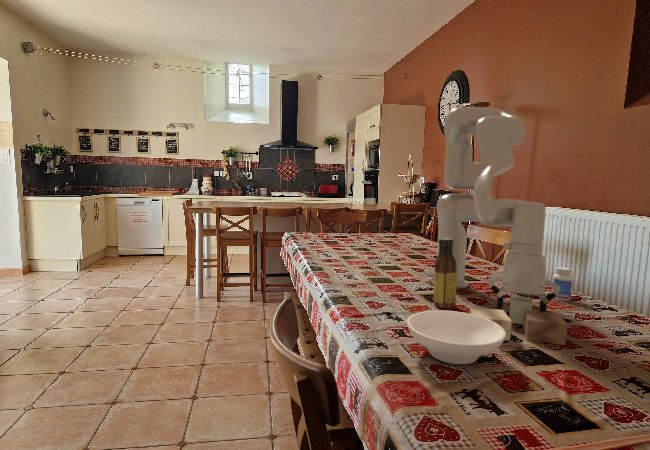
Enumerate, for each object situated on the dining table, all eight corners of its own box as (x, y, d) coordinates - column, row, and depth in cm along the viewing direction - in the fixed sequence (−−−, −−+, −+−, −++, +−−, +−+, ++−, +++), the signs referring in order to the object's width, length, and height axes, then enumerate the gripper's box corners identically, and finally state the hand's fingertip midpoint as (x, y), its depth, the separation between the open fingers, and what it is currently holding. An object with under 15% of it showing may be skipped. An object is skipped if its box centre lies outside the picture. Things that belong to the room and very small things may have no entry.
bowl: (446, 388, 74) (448, 351, 73) (387, 345, 92) (389, 315, 91) (525, 369, 82) (528, 336, 81) (457, 333, 99) (459, 306, 99)
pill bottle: (573, 301, 127) (576, 270, 126) (554, 300, 128) (557, 269, 127) (566, 296, 133) (569, 267, 132) (548, 295, 134) (551, 265, 133)
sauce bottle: (455, 304, 122) (460, 237, 120) (455, 310, 116) (459, 241, 114) (433, 301, 124) (436, 236, 122) (431, 307, 118) (435, 239, 116)
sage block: (509, 322, 108) (510, 300, 107) (509, 316, 113) (511, 295, 112) (530, 325, 106) (532, 303, 105) (529, 319, 111) (531, 298, 110)
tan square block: (526, 340, 97) (528, 320, 96) (522, 328, 104) (524, 309, 104) (565, 346, 94) (567, 324, 94) (558, 333, 102) (560, 314, 101)
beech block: (473, 338, 97) (475, 317, 97) (468, 326, 105) (469, 307, 104) (509, 341, 96) (511, 320, 95) (501, 329, 104) (503, 309, 103)
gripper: (489, 248, 107) (484, 312, 109) (565, 255, 100) (559, 323, 102) (490, 244, 114) (486, 305, 116) (562, 250, 107) (556, 314, 109)
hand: (520, 313), depth 109 cm, fingers open, 9 cm apart
